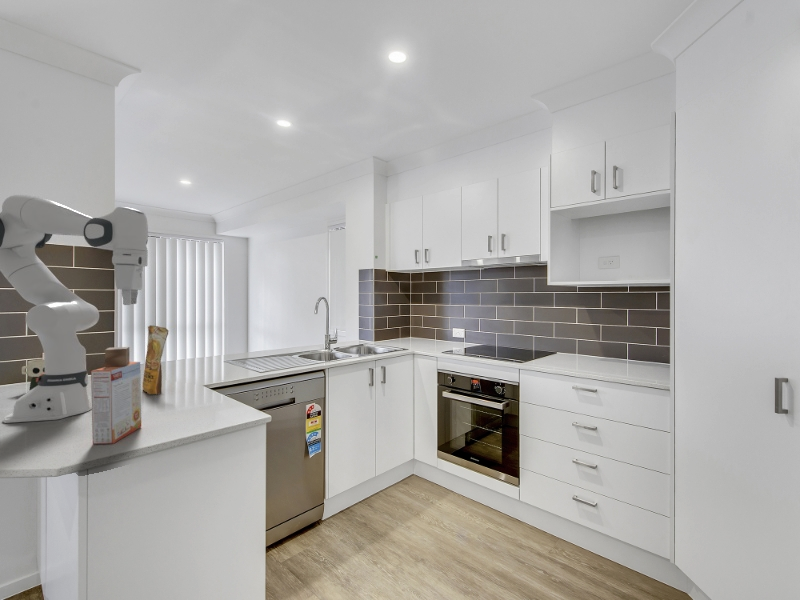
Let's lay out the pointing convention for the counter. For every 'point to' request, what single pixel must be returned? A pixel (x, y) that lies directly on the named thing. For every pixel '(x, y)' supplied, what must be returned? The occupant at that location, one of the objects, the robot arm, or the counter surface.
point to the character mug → (34, 371)
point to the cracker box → (115, 402)
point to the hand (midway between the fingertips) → (130, 304)
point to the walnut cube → (117, 356)
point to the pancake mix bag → (154, 359)
